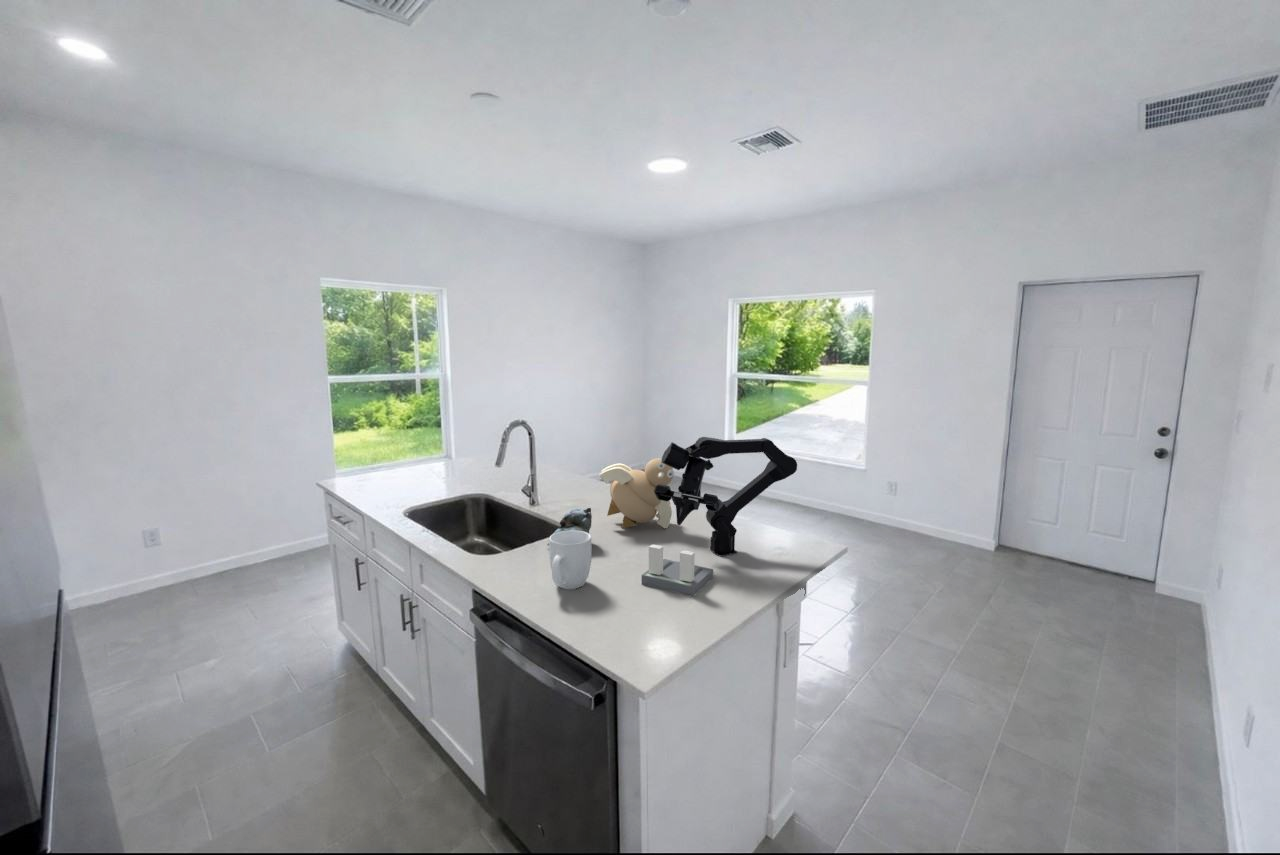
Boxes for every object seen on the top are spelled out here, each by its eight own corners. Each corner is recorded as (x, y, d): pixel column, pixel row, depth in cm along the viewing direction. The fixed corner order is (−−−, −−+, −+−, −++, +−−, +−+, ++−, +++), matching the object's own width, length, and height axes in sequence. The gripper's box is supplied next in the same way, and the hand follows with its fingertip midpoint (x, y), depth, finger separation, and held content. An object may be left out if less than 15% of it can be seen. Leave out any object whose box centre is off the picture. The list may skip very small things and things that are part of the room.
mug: (575, 602, 132) (574, 551, 130) (535, 596, 136) (533, 546, 134) (598, 578, 146) (597, 532, 145) (561, 573, 150) (560, 528, 148)
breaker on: (682, 576, 140) (683, 550, 139) (694, 579, 139) (694, 552, 138) (679, 579, 139) (679, 552, 138) (690, 582, 137) (691, 555, 136)
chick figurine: (635, 437, 177) (636, 428, 199) (579, 499, 180) (587, 483, 202) (702, 496, 179) (696, 480, 201) (646, 557, 182) (646, 535, 205)
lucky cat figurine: (540, 545, 171) (549, 502, 176) (572, 553, 178) (580, 511, 182) (564, 545, 160) (573, 499, 164) (597, 553, 166) (605, 508, 171)
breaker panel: (664, 567, 154) (664, 558, 154) (713, 577, 147) (713, 568, 146) (641, 583, 143) (641, 574, 143) (693, 596, 136) (693, 586, 135)
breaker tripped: (652, 570, 145) (652, 544, 144) (663, 572, 143) (663, 546, 142) (648, 572, 143) (648, 546, 142) (659, 575, 141) (659, 548, 140)
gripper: (726, 494, 163) (713, 542, 156) (668, 482, 170) (654, 528, 163) (722, 477, 154) (708, 527, 147) (661, 466, 161) (645, 513, 154)
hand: (678, 524), depth 153 cm, fingers closed
